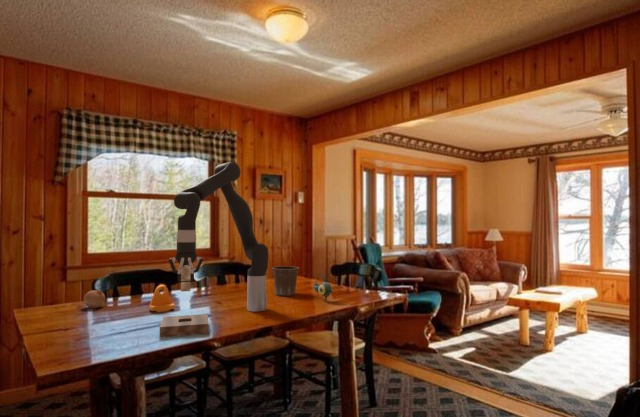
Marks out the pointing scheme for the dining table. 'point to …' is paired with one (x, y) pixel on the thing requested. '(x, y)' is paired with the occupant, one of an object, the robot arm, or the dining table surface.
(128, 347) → the dining table surface
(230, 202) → the robot arm
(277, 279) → the plant pot
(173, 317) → the board
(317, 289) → the decorative fish
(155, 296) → the bracket
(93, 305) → the onion
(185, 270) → the peg
